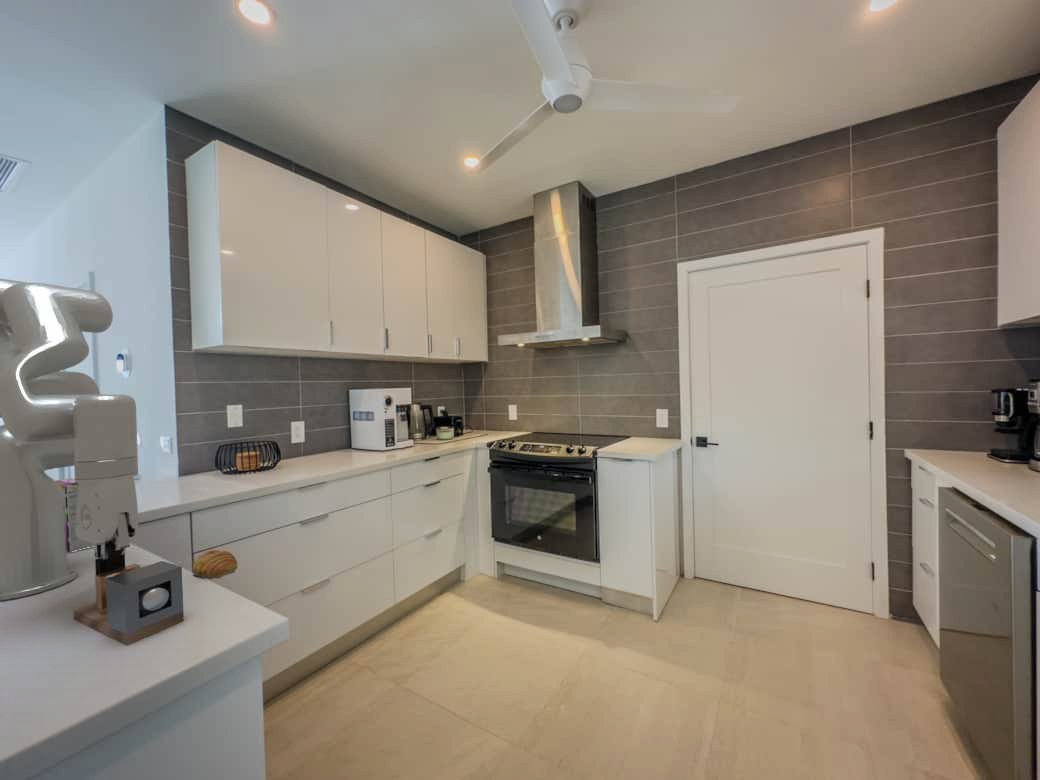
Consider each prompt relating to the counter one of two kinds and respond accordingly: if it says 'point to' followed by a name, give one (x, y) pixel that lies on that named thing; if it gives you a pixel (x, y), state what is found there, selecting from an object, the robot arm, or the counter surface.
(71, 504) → the candy bar box
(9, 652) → the counter surface
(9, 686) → the counter surface
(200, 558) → the pastry
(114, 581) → the shaft frame
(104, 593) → the shaft
